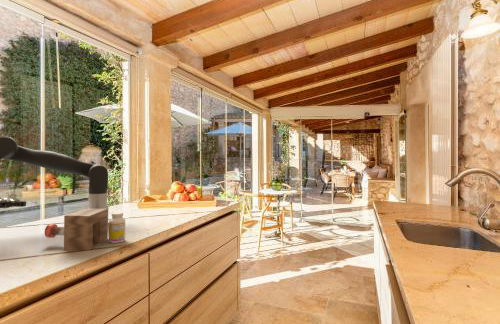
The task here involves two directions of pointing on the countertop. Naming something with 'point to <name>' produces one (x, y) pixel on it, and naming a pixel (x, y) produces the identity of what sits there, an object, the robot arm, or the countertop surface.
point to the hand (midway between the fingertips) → (24, 203)
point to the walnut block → (85, 228)
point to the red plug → (53, 231)
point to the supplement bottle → (117, 228)
